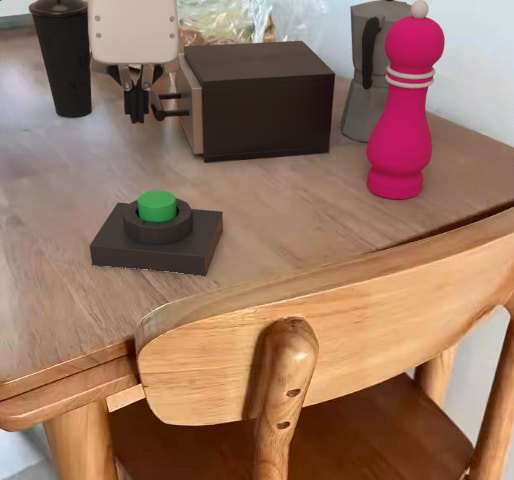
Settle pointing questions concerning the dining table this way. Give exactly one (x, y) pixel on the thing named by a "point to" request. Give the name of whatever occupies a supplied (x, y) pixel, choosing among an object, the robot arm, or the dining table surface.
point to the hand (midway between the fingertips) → (137, 119)
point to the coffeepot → (369, 65)
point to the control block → (158, 240)
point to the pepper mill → (405, 107)
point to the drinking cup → (65, 53)
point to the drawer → (184, 105)
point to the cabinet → (263, 100)
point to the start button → (157, 206)
